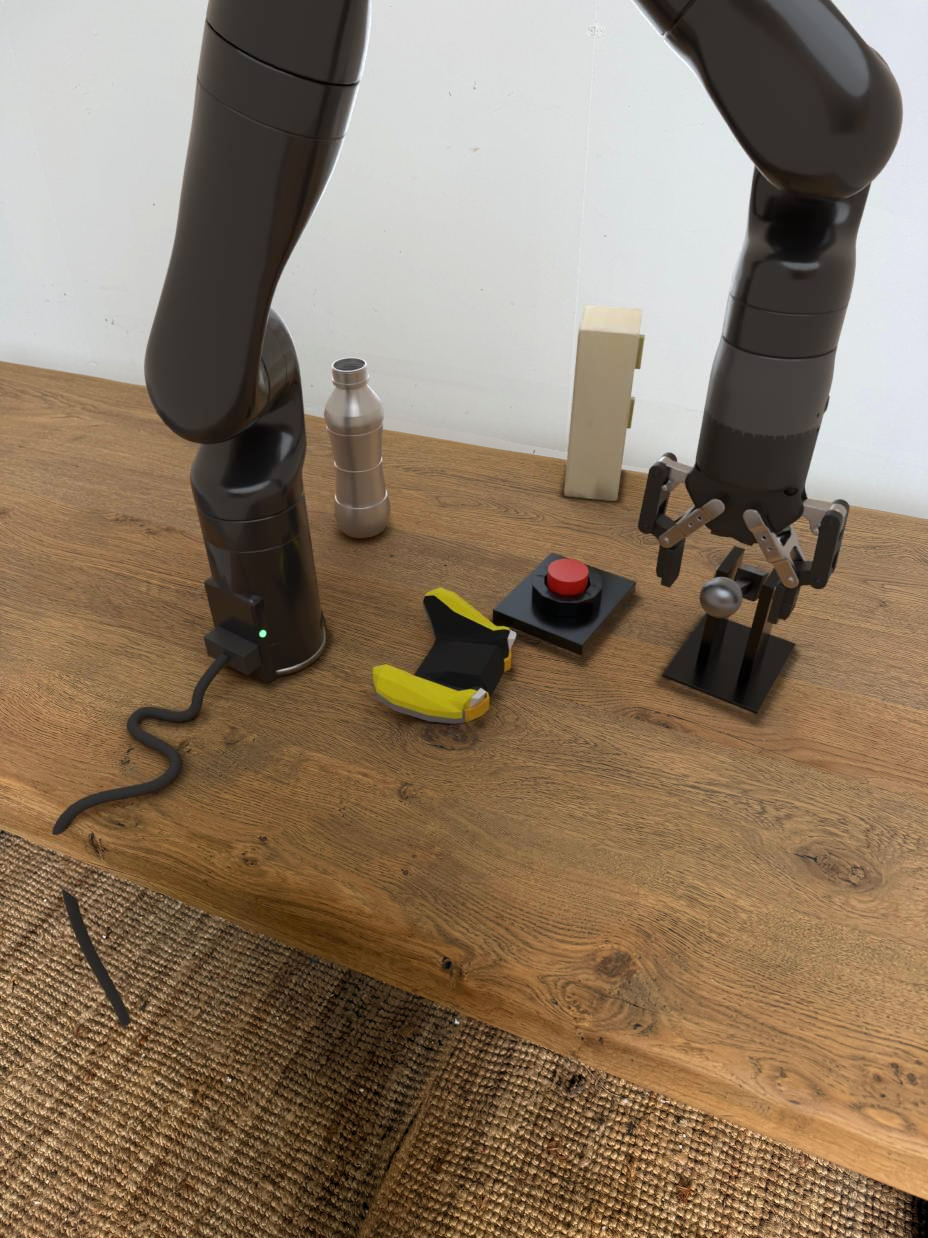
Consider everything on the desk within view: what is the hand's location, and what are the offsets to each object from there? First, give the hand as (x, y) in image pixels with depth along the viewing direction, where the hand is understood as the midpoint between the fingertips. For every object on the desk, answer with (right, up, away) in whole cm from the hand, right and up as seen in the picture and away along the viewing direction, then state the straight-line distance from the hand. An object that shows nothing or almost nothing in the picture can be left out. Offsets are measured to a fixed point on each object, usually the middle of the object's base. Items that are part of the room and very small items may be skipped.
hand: (721, 599), depth 67 cm
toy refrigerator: (-3, +15, +42) cm, 44 cm away
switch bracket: (+5, -6, +15) cm, 17 cm away
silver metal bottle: (-32, +9, +34) cm, 47 cm away
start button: (-10, +2, +19) cm, 21 cm away
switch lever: (+2, -1, +5) cm, 5 cm away
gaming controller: (-21, -8, +14) cm, 26 cm away
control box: (-10, -1, +21) cm, 24 cm away
